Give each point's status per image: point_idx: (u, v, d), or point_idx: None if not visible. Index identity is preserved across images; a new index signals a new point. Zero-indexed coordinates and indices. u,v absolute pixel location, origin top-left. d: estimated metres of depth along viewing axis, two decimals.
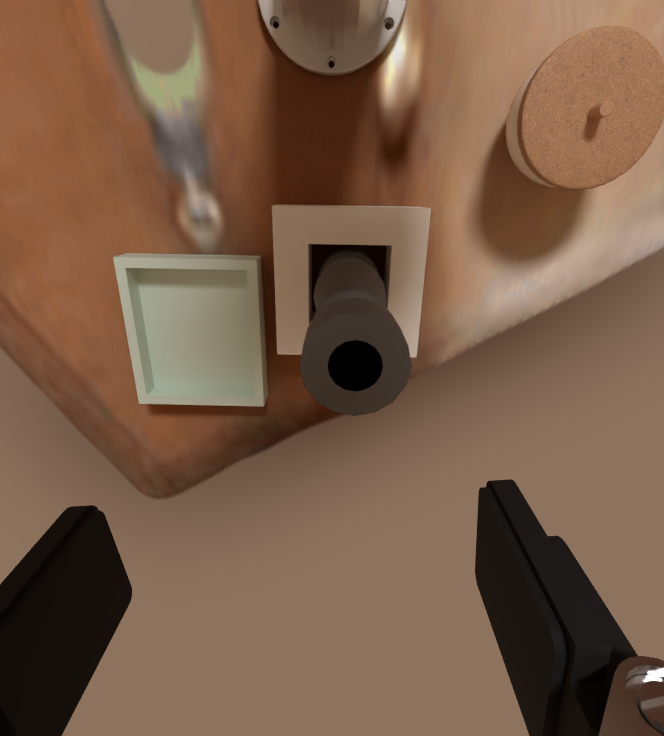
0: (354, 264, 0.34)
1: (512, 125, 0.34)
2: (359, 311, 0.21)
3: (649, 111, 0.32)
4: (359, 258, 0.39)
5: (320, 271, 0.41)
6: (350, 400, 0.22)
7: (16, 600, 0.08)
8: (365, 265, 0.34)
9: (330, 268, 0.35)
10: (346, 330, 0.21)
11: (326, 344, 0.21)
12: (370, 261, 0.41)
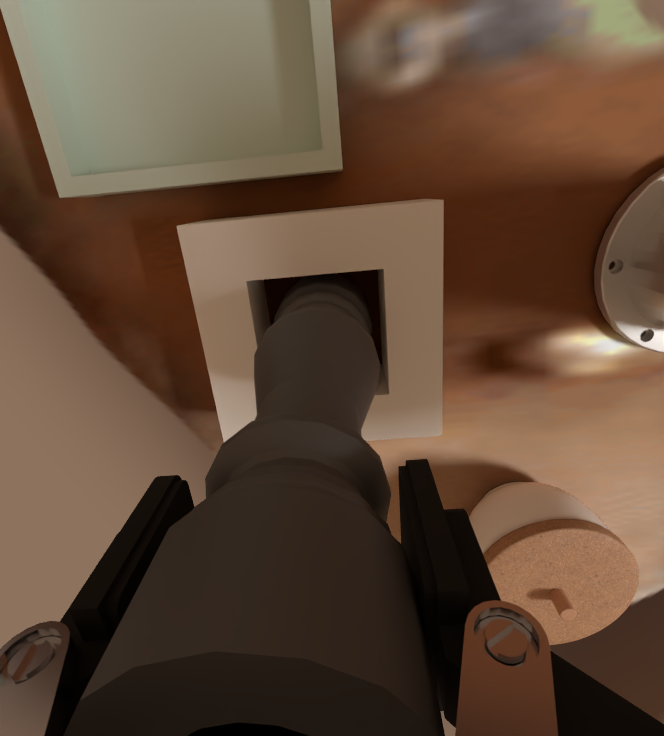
0: (376, 380, 0.20)
1: (539, 507, 0.28)
2: None
3: (552, 635, 0.30)
4: None
5: (335, 286, 0.25)
6: None
7: (133, 552, 0.09)
8: (375, 392, 0.20)
9: (365, 337, 0.19)
10: None
11: (322, 719, 0.06)
12: None
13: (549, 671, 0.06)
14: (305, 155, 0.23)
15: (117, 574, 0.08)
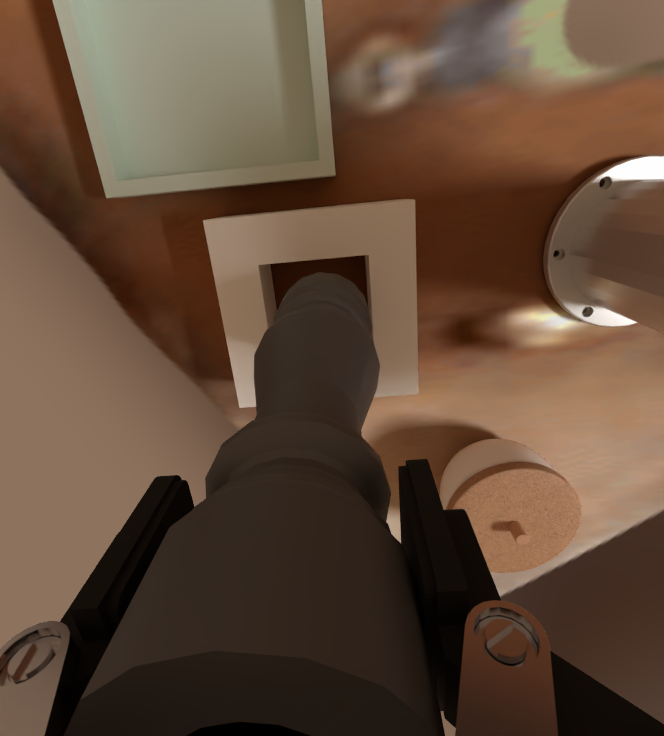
0: (376, 380, 0.20)
1: (499, 454, 0.34)
2: None
3: (512, 563, 0.36)
4: None
5: (335, 286, 0.25)
6: None
7: (133, 552, 0.09)
8: (374, 392, 0.20)
9: (365, 337, 0.19)
10: None
11: (322, 717, 0.06)
12: None
13: (549, 671, 0.06)
14: (305, 164, 0.29)
15: (117, 574, 0.08)
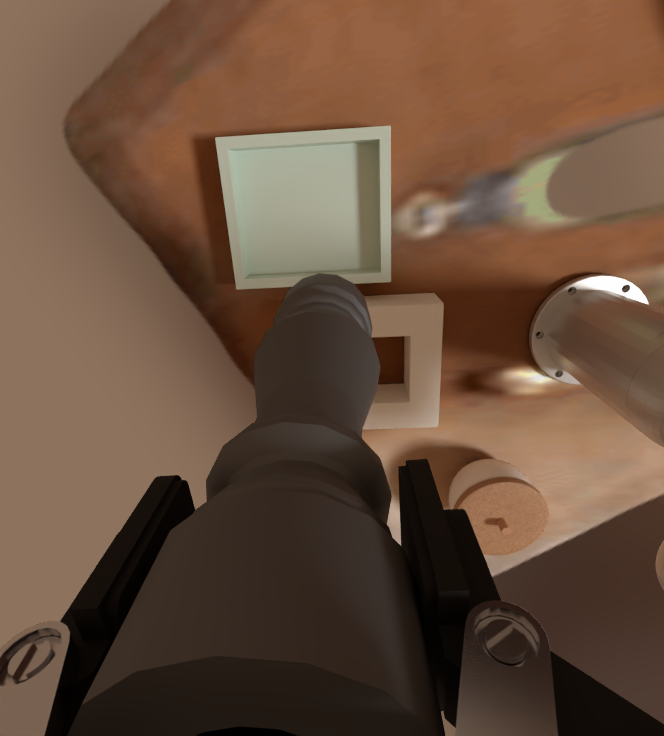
0: (376, 381, 0.20)
1: (493, 471, 0.49)
2: None
3: (498, 548, 0.50)
4: None
5: (335, 287, 0.25)
6: None
7: (133, 552, 0.09)
8: (375, 393, 0.20)
9: (365, 338, 0.19)
10: None
11: (323, 721, 0.06)
12: None
13: (549, 671, 0.06)
14: (371, 274, 0.43)
15: (116, 574, 0.08)
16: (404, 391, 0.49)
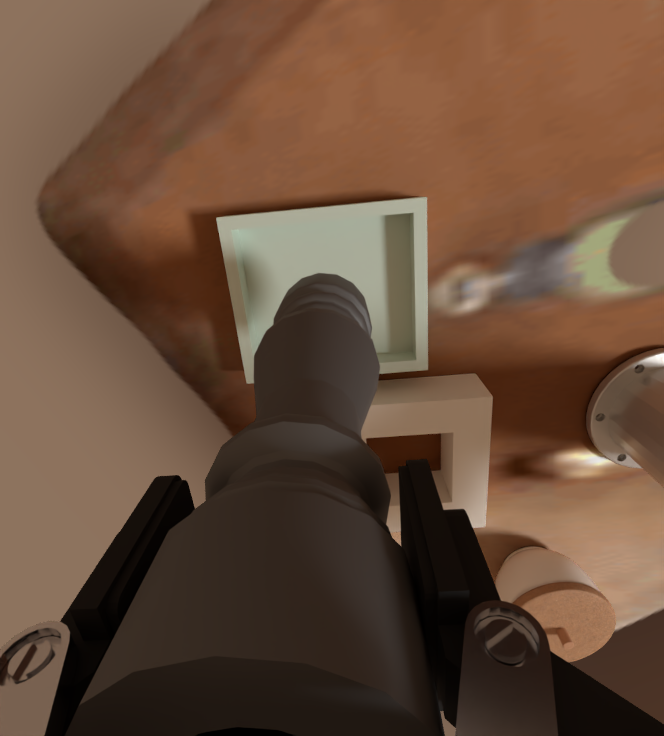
0: (376, 380, 0.20)
1: (549, 572, 0.42)
2: None
3: None
4: None
5: (335, 287, 0.25)
6: None
7: (133, 552, 0.09)
8: (374, 393, 0.20)
9: (365, 338, 0.19)
10: None
11: (322, 722, 0.06)
12: None
13: (549, 670, 0.06)
14: (405, 362, 0.37)
15: (117, 573, 0.08)
16: (443, 483, 0.42)
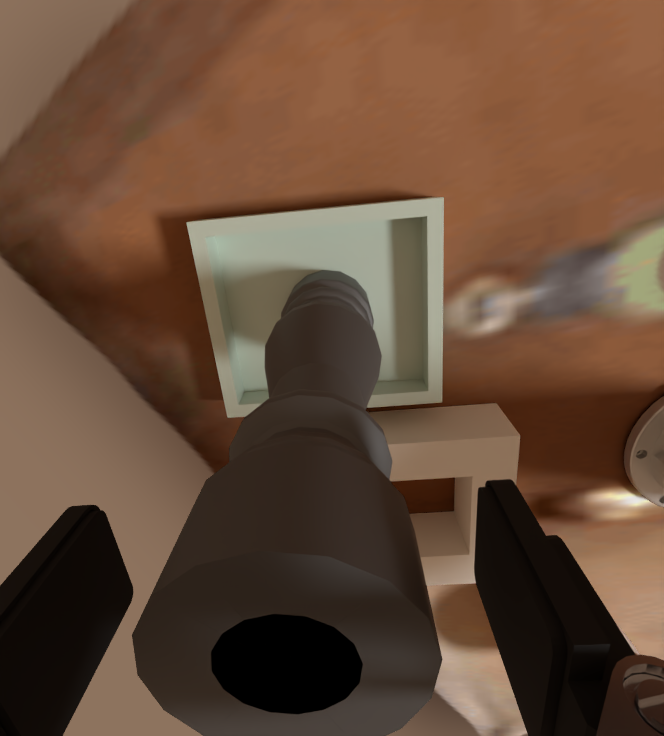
0: (378, 368, 0.21)
1: None
2: (437, 652, 0.08)
3: None
4: None
5: (339, 282, 0.27)
6: (181, 665, 0.08)
7: (18, 599, 0.08)
8: None
9: (368, 328, 0.21)
10: (389, 645, 0.08)
11: (339, 609, 0.07)
12: None
13: None
14: (415, 394, 0.31)
15: None
16: (457, 529, 0.37)
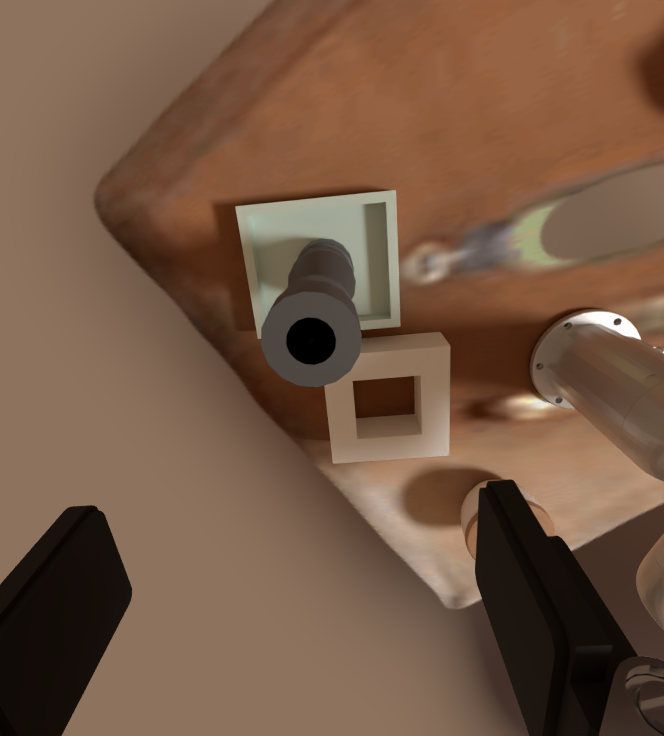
0: (353, 287, 0.37)
1: None
2: (361, 337, 0.24)
3: None
4: None
5: (331, 244, 0.43)
6: (276, 341, 0.24)
7: (16, 600, 0.08)
8: (353, 296, 0.38)
9: (347, 264, 0.37)
10: (344, 330, 0.23)
11: (328, 314, 0.23)
12: None
13: None
14: (382, 320, 0.47)
15: None
16: (416, 422, 0.52)
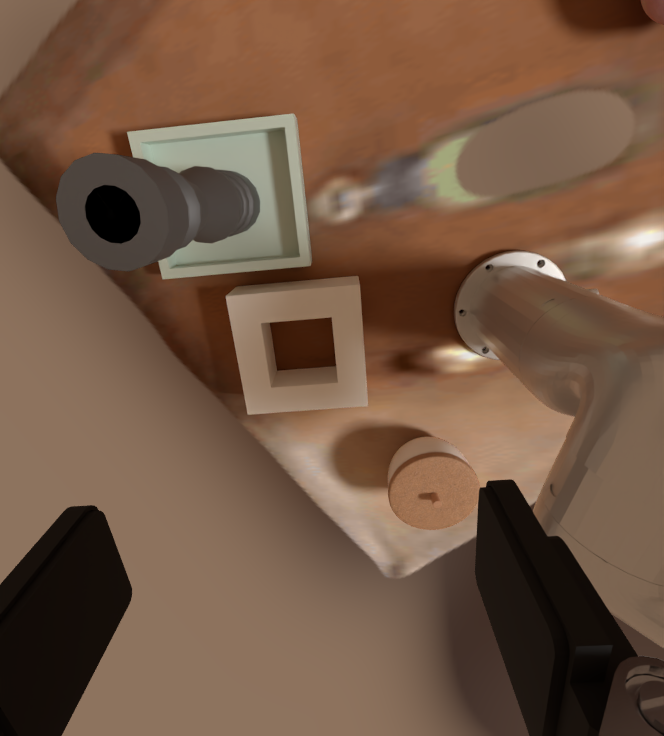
0: (235, 206, 0.35)
1: (425, 447, 0.50)
2: (169, 212, 0.22)
3: (435, 522, 0.51)
4: (247, 211, 0.40)
5: (228, 172, 0.40)
6: (74, 215, 0.22)
7: (16, 600, 0.08)
8: (237, 217, 0.36)
9: (227, 181, 0.35)
10: (147, 201, 0.21)
11: (126, 181, 0.21)
12: (247, 223, 0.42)
13: None
14: (291, 259, 0.45)
15: None
16: (336, 373, 0.50)
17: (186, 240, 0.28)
